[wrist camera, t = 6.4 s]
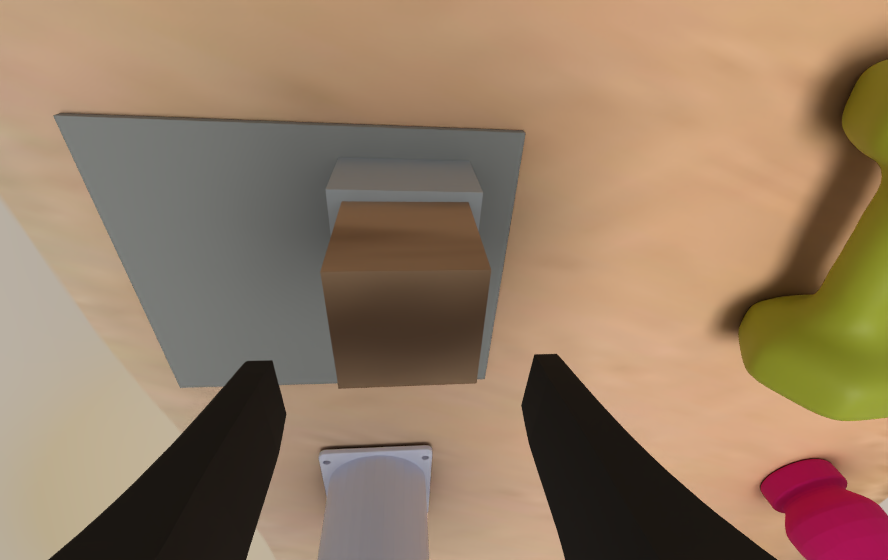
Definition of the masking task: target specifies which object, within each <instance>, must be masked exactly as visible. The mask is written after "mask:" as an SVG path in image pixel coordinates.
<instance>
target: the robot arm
mask: <svg viewBox="0 0 888 560" xmlns="http://www.w3.org/2000/svg"><path fill="white" fill-rule="evenodd" d="M521 406H522V411H523V417H524V422H525V427H526V432H527V436H528V441H529V445H530V448H531V451H532V455H533V458H534V461H535V464H536V467H537V470H538V473H539V476H540V479H541V483H542V486H543V489H544V492H545V495H546V498H547V501H548V504H549V507H550V510H551V513H552V516H553V519H554V522H555V525H556V528H557V532H558V535H559V539H560V542H561V545H562V549H563V553H564V557H565V560H777V559H776V558H774V557H773V556H772V555H770V554H769V553H767V552H766V551H765V550H763V549H762V548H761V547H759V546H758V545H757V544H755V543H754V542H753V541H752V540H750V539H749V538H748V537H746V536H745V535H744V534H743V533H741V532H740V531H739V530H737V529H736V528H735V527H734V526H732V525H731V524H730V523H728V522H727V521H726V520H725V519H723V518H722V517H721V516H719V515H718V514H717V513H716V512H714V511H713V510H712V509H711V508H710V507H708V506H707V505H706V504H705V503H703V502H702V501H701V500H700V499H699V498H698V497H696V496H695V495H694V494H693V493H692V492H691V491H690V490H688V489H687V488H686V487H685V486H684V485H683V484H681V483H680V482H679V481H678V480H677V479H676V478H675V477H673V476H672V475H671V474H670V473H669V472H668V471H667V470H666V469H665V468H664V467H662V466H661V465H660V464H659V463H658V462H657V461H656V460H655V459H654V458H653V457H652V456H651V455H650V454H649V453H648V452H647V451H646V450H645V449H644V448H643V447H642V446H641V445H640V444H639V443H638V442H637V441H636V440H635V439H634V438H633V437H632V436H631V435H630V434H629V433H628V432H627V431H626V430H625V429H624V428H623V427H622V426H621V425H620V424H619V423H618V422H617V421H616V420H615V419H614V417H613V416H612V415H611V414H610V413H609V412H608V411H607V410H606V409H605V408H604V407H603V406H602V405H601V403H600V402H599V401H598V400H597V399H596V398H595V397H594V396H593V395H592V393H591V392H590V391H589V390H588V389H587V388H586V387H585V385H584V384H583V383H582V382H581V381H580V380H579V379H578V377H577V376H576V375H575V374H574V373H573V372H572V370H571V369H570V368H569V367H568V366H567V365H566V364H565V362H564V361H563V360H562V359H561V358H560V357H559V356H558V355H557V354H537V355H534V358H533V362H532V366H531V370H530V374H529V378H528V382H527V386H526V389H525V393H524V397H523V401H522V405H521ZM285 418H286V411H285V407H284V403H283V399H282V395H281V391H280V388H279V384H278V380H277V376H276V372H275V368H274V364H273V361H272V360H265V361H246V362H245V363H244V364H243V365H242V366H241V367H240V368H239V369H238V370H237V372H236V373H235V374H234V375H233V376H232V377H231V379H230V380H229V381H228V382H227V383H226V384H225V386H224V387H223V388H222V389H221V390H220V391H219V393H218V394H217V395H216V396H215V397H214V398H213V400H212V401H211V402H210V403H209V404H208V405H207V406H206V408H205V409H204V410H203V411H202V412H201V413H200V414H199V415H198V416H197V418H196V419H195V420H194V421H193V422H192V423H191V424H190V425H189V426H188V427H187V429H186V430H185V431H184V432H183V433H182V434H181V435H180V436H179V437H178V438H177V439H176V441H175V442H174V443H173V444H172V445H171V446H170V447H169V448H168V449H167V450H166V451H165V452H164V453H163V454H162V455H161V456H160V457H159V458H158V459H157V460H156V461H155V462H154V463H153V464H152V465H151V466H150V467H149V468H148V469H147V470H146V471H145V472H144V473H143V474H142V475H141V476H140V477H139V478H138V479H137V481H135V482H134V483H133V484H132V486H130V487H129V488H128V489H127V490H126V491H125V492H124V493H123V494H122V495H121V496H120V497H119V498H118V499H117V500H116V501H115V502H114V503H112V504H111V505H110V506H109V507H108V508H107V509H106V510H105V511H104V512H103V513H101V515H100V516H98V517H97V518H96V519H95V520H94V521H93V522H91V523H90V524H89V525H88V526H87V527H86V528H85V529H84V530H83V531H82V532H80V533H79V534H78V535H77V536H76V537H75V538H73V539H72V540H71V541H70V542H69V543H68V544H66V545H65V546H64V547H63V548H62V549H61V550H60V551H58V552H57V553H56V554H55V555H53V556H52V557H51V558H50V559H49V560H246V558H247V555H248V551H249V548H250V544H251V542H252V538H253V535H254V532H255V529H256V526H257V523H258V519H259V516H260V513H261V510H262V507H263V504H264V500H265V497H266V494H267V491H268V488H269V484H270V481H271V478H272V475H273V471H274V468H275V465H276V462H277V458H278V455H279V450H280V445H281V440H282V435H283V430H284V424H285ZM319 462H320V467H321V472H322V477H323V482H324V486H325V491H326V496H327V501H326V507H325V514H324V520H323V527H322V534H321V540H320V547H319V553H318V560H429V543H428V522H427V513H428V508H429V494H430V479H431V465H432V447H430V446H428V445H418V446H396V447H373V448H351V449H329V450H323V451H321V452H320V453H319Z"/></svg>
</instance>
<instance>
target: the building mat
mask: <svg viewBox="0 0 888 560" xmlns="http://www.w3.org/2000/svg"><path fill="white" fill-rule="evenodd" d="M53 116H54V118H55V121H56V123H57V125H58V127H59V129H60V131H61V133H62V136H63V138H64V140H65V142H66V144H67V146H68V148H69V151H70V153H71V155H72V157H73V159H74V161H75V163H76V166H77V168H78V170H79V172H80V174H81V176H82V178H83V181H84V183H85V185H86V187H87V189H88V191H89V193H90V196H91V198H92V200H93V202H94V204H95V206H96V208H97V211H98V213H99V215H100V217H101V219H102V221H103V223H104V226H105V228H106V230H107V232H108V234H109V236H110V238H111V241H112V243H113V245H114V247H115V249H116V251H117V253H118V256H119V258H120V260H121V262H122V264H123V266H124V268H125V271H126V273H127V275H128V277H129V279H130V281H131V283H132V286H133V288H134V290H135V292H136V294H137V296H138V298H139V301H140V303H141V305H142V307H143V309H144V311H145V313H146V316H147V318H148V320H149V322H150V324H151V326H152V328H153V331H154V333H155V335H156V337H157V339H158V341H159V343H160V346H161V348H162V350H163V352H164V354H165V356H166V358H167V361H168V363H169V365H170V367H171V369H172V371H173V373H174V376H175V378H176V380H177V382H178V384H179V386H180V388H186V387H221V386H225V384H226V383H227V382H228V381H229V380H230V379H231V377H232V376H233V375H234V374H235V373H236V372H237V370H238V369H239V368H240V367H241V366H242V365H243V364H244V363H245V362H246V361H265V360H272V361H273V364H274V368H275V372H276V376H277V380H278V384H279V385H292V384H328V383H338V382H337V375H336V369H335V363H334V356H333V350H332V344H331V337H330V331H329V324H328V318H327V312H326V305H325V299H324V293H323V286H322V280H321V274H320V271H321V268H322V264H323V261H324V258H325V254H326V251H327V248H328V245H329V241H330V238H331V233H330V225H329V216H328V207H327V199H326V190H325V189H326V187H327V184H328V182H329V179H330V177H331V174H332V172H333V170H334V167H335V165H336V162H337V160H338V157H348V158H383V159H418V160H453V161H470V163H471V166H472V168H473V170H474V173H475V175H476V177H477V180H478V182H479V184H480V186H481V189H482V191H483V198H482V206H481V215H480V223H479V235H480V238H481V241H482V244H483V246H484V249H485V252H486V255H487V258H488V261H489V264H490V267H491V277H490V284H489V292H488V300H487V307H486V315H485V322H484V330H483V338H482V345H481V353H480V361H479V368H478V376H477V379H485V374H486V368H487V362H488V356H489V350H490V344H491V338H492V332H493V326H494V320H495V314H496V308H497V302H498V296H499V290H500V284H501V278H502V272H503V266H504V260H505V254H506V248H507V242H508V236H509V230H510V224H511V218H512V212H513V205H514V199H515V193H516V187H517V181H518V175H519V169H520V163H521V157H522V151H523V145H524V139H525V132H524V131H523V130H499V129H472V128H446V127H419V126H392V125H365V124H339V123H312V122H285V121H258V120H232V119H205V118H178V117H151V116H125V115H98V114H71V113H59V114H56V115H53Z"/></svg>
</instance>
